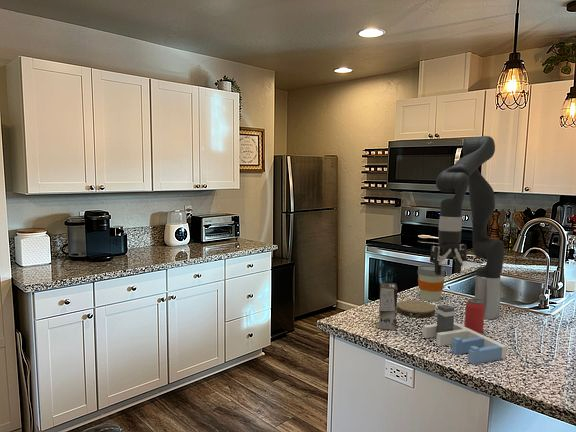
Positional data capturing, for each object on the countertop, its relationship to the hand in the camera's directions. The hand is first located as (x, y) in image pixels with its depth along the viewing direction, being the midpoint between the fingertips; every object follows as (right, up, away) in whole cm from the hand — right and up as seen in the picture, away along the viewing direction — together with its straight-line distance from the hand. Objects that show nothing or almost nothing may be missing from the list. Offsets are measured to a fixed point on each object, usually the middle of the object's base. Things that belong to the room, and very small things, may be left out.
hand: (447, 273), depth 152 cm
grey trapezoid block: (0, -24, +3) cm, 24 cm away
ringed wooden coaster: (-2, -21, +32) cm, 39 cm away
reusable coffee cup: (+11, -19, +52) cm, 56 cm away
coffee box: (-18, -23, +16) cm, 33 cm away
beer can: (+14, -24, +11) cm, 29 cm away
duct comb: (+2, -25, -4) cm, 25 cm away
